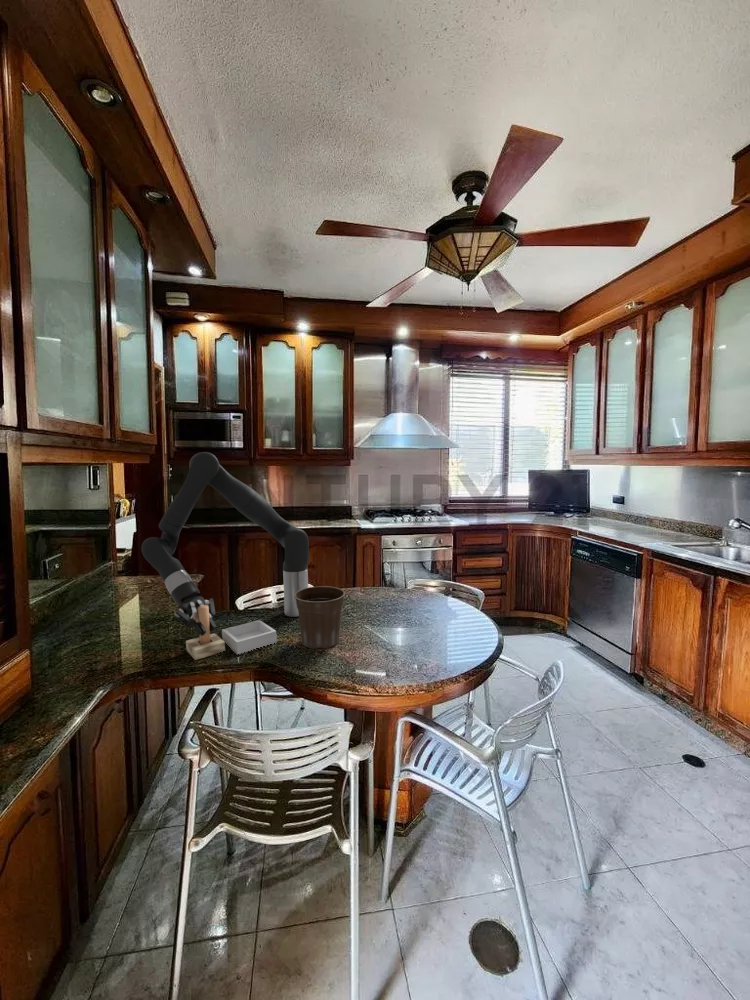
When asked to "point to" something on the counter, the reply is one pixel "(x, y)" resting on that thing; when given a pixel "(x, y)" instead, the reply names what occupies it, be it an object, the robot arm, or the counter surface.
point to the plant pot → (319, 615)
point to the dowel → (204, 623)
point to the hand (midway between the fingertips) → (209, 631)
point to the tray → (249, 636)
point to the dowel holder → (205, 647)
